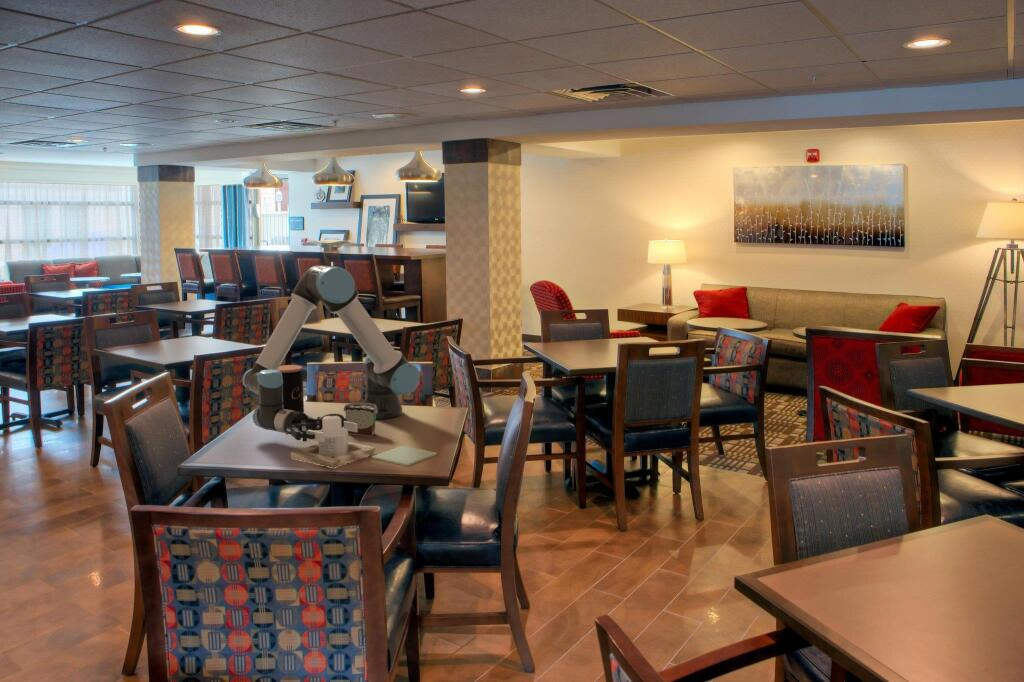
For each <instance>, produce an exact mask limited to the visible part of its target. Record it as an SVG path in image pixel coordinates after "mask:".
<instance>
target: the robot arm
mask: <svg viewBox="0 0 1024 682" xmlns="http://www.w3.org/2000/svg"><path fill="white" fill-rule="evenodd" d="M355 282H356V281H355V279H354V277H353V275H352V274H351V272H349V271H347V270H346V269H344V268H342V267H341V266H336V265H335V266H334V265H332V266H331V265H321V264H319V265H318V264H317V265H313V266H312V267H310V268H308V269H307V270H306V271H305V272H304V273H303V274H302V276H301V277H300V279H299V281H298V282H297V284H296V285H295V287H294V289H293V290H292V293H290V295H291V296H290V297H291V299H290V300H291V301H290V302H289V304H288V305H287V307H286V309H285V310H284V312H283V314H282V316H281V317H280V320H279V321H278V323H277V325H276V326H275V328H274V330H273V332H272V334H270V337H269V338H268V341H267V342H266V344H265V346H264V347H263V349H262V351H261V353H260V354H259V356H258V358H257V360H256V361H255V363H254V364H253V367H252V368H250V369H248V370H247V371H245V372H244V374H243V376H242V384H243V386H244V387H245V388H246V389H247V390H248V391H249V392H251V393H253V394H255V395H258V401H259V402H258V406H257V407H256V408H255V409H254V411H253V414H252V421H253V423H254V425H255V426H257V427H258V428H261V429H264V430H267V431H273V432H278V433H283V434H285V435H286V436H288V435H290V436H292V437H293V438H294V439H295V440H297V441H301V440H302V442H304V443H305V442H307V441H308V440H311V441H315V442H318V443H319V442H325V433H322V432H321V431H322V417H323V416H322V417H321V416H317V417H316V418H313V417H311V418H310V417H309V416H308V415H307V413H305V412H297V411H293V410H288V409H284V408H283V378H282V372H281V371H279V370H278V368H279V366H282V363H283V362H284V359H285V357H286V356H287V354H288V353H289V351H290V349H291V347H292V345H294V342H295V341H296V339H297V338H298V335H299V333H300V332H301V330H302V328H303V326H304V325H305V323H306V321H307V320H308V317H309V315H310V314H311V312H312V311H313V310H316V309H317V308H318V306H319V304H321V302H322V304H323V305H324V306H325V308H326V309H327V311H328V312H329V313H331V314H337V316H338V317H339V319H340V320H341V322H342V323H343V324H344V325H345V327H346V328H347V329H348V331H349V332H350V333H351V335H352V336H353V338H354V339H355V340H356V342H357V343H358V344H359V346H360V347H361V348H362V350H363V351H364V352H365V354H366V357H365V361H364V373H365V375H364V376H365V379H364V380H365V397H364V401H363V403H371V404H375V405H376V407H377V410H378V413H377V414H376V420H384V419H392V418H397V417H400V416H402V414H403V407H402V405H401V401H400V399H399V396H407V395H410V394H412V393H413V392H414V391H415V390H416V389H417V388H418V386H419V383H420V379H421V374H420V369H418V367H417V366H416V365H415V364H413V363H410V362H409V361H408V360H407V358H406V357H405V355H404V354H403V353H402V351H400V350H395V349H394V347H393V346H392V345H391V343H390V342H389V341H388V339H387V338H386V337H385V335H384V334H383V332H382V331H381V330H380V328H379V327H378V325H377V324H376V323H375V321H374V320H373V318H372V317H371V315H370V314H369V313H368V311H367V310H366V309H365V307H364V306H363V305H362V303H361V302H360V301H359V299H358V297H359V291H358V290H357V288H356V283H355ZM344 429H347V430H348V431H352V432H357V423H353V422H348V421H347V420H346V417H344Z"/></svg>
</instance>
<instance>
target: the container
mask: <svg viewBox="0 0 1024 682" xmlns="http://www.w3.org/2000/svg"><path fill="white" fill-rule="evenodd" d="M344 418H345V417H344V416H343V414H340V413H328V414H325V415H323V416H322V429H321V430H320V432H322V433H325V442H319V441H318V444H319V454H318V455H322V456H326V457H330V458H335V457H338V456H341V455H344V454H347V453H349V452H348V442H349V437H348V436H349V434H348V430H347V429H344Z"/></svg>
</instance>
